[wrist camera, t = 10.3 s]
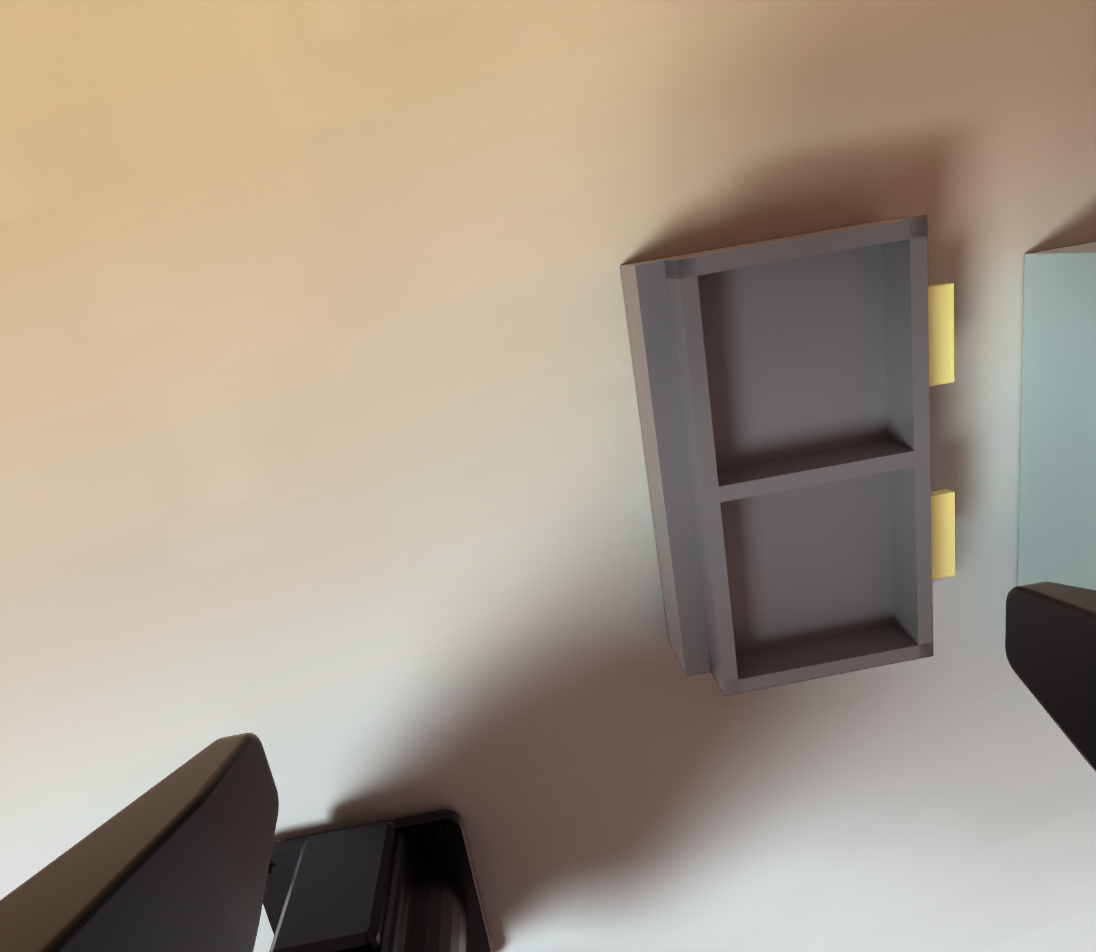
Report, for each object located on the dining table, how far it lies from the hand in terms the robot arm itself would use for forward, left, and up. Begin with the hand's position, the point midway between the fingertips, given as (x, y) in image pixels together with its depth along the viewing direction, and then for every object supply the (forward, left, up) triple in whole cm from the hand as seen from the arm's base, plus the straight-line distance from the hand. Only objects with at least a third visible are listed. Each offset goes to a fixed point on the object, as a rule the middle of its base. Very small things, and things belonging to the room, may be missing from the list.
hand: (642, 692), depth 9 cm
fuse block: (-1, -6, -12) cm, 13 cm away
